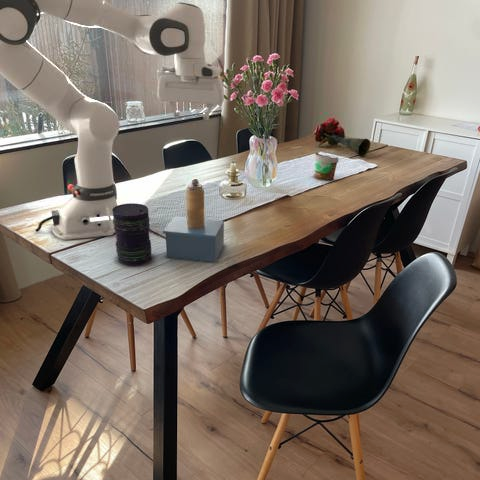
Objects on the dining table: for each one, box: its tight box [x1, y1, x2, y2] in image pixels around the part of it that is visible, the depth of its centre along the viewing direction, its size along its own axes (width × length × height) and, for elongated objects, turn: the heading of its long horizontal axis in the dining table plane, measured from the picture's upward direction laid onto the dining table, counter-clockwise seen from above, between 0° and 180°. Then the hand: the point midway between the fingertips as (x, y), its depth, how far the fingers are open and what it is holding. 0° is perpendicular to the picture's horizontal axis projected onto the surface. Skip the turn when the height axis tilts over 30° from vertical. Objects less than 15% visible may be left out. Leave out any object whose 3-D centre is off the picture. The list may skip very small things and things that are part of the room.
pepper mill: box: [185, 178, 205, 229], centre depth 139 cm, size 5×5×14 cm
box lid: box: [162, 216, 225, 238], centre depth 143 cm, size 15×12×1 cm
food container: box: [313, 151, 339, 181], centre depth 213 cm, size 12×6×10 cm, turn 42°
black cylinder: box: [112, 202, 153, 267], centre depth 137 cm, size 10×10×15 cm
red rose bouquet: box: [314, 117, 371, 158], centre depth 262 cm, size 16×18×35 cm
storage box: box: [165, 223, 225, 263], centre depth 145 cm, size 15×12×7 cm
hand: (191, 118), depth 151 cm, fingers open, 8 cm apart
